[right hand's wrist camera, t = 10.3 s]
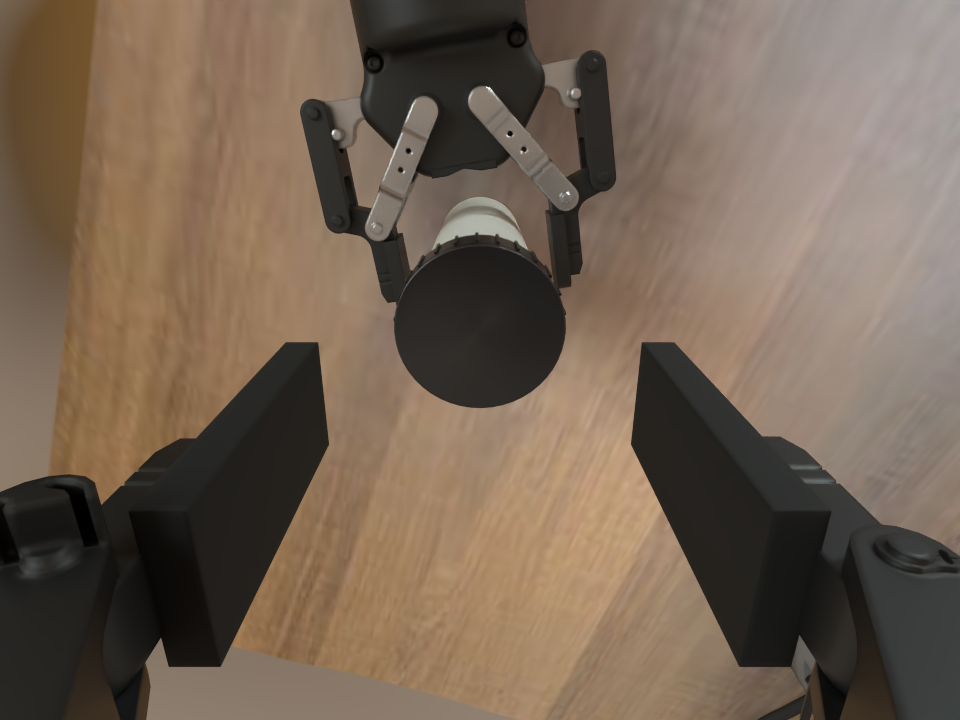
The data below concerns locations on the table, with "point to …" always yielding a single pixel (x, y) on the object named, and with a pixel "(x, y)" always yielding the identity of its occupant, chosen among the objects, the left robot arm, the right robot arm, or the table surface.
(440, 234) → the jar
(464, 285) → the lid
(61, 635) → the right robot arm
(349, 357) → the table surface
